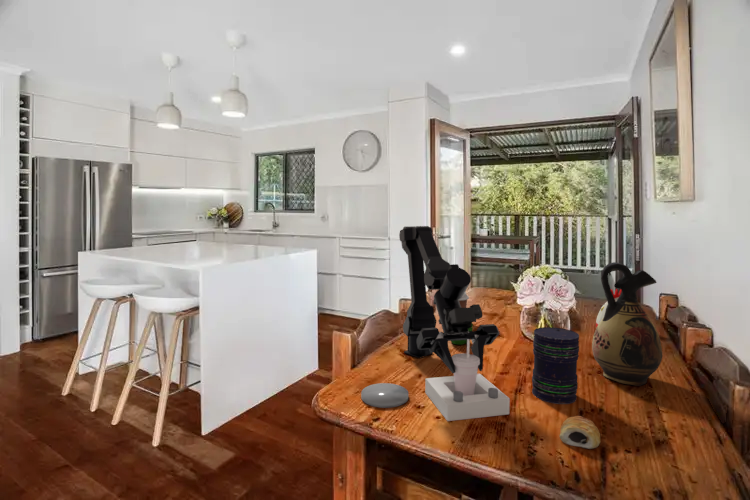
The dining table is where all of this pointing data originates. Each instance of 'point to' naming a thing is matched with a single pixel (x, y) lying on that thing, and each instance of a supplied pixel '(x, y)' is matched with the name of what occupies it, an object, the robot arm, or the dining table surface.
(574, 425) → the pastry
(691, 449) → the dining table surface
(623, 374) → the ceramic jug
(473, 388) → the smoothie
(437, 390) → the holder
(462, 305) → the coffee cup
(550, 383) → the storage jar
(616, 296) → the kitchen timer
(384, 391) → the coaster
